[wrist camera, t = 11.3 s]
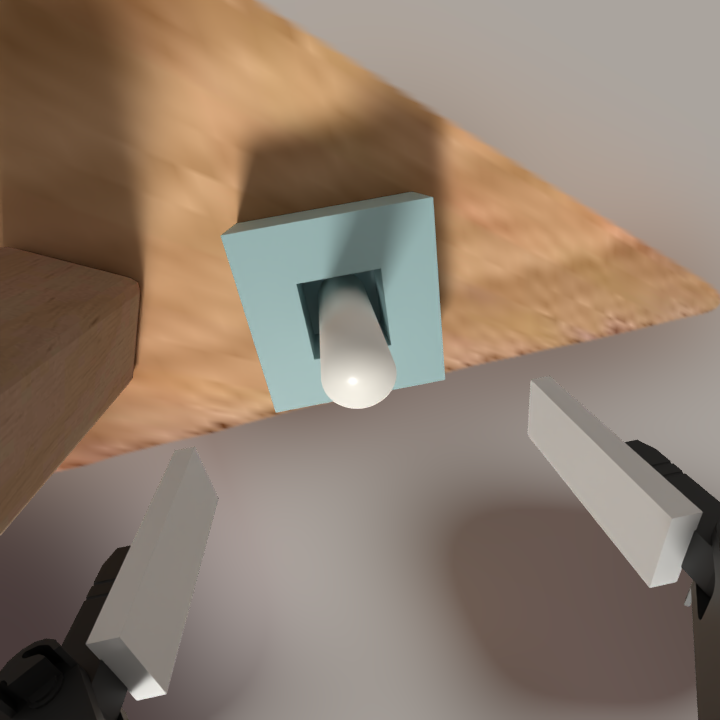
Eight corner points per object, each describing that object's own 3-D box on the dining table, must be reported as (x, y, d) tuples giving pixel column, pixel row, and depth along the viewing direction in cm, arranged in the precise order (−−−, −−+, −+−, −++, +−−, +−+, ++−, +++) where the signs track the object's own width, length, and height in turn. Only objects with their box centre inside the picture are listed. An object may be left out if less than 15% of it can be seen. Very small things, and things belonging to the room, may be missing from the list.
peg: (313, 277, 32) (313, 350, 19) (361, 268, 32) (392, 335, 20) (323, 322, 34) (329, 414, 21) (368, 313, 34) (400, 401, 21)
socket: (236, 223, 30) (220, 235, 25) (412, 191, 31) (433, 197, 25) (281, 376, 37) (276, 412, 31) (425, 349, 37) (444, 379, 32)
